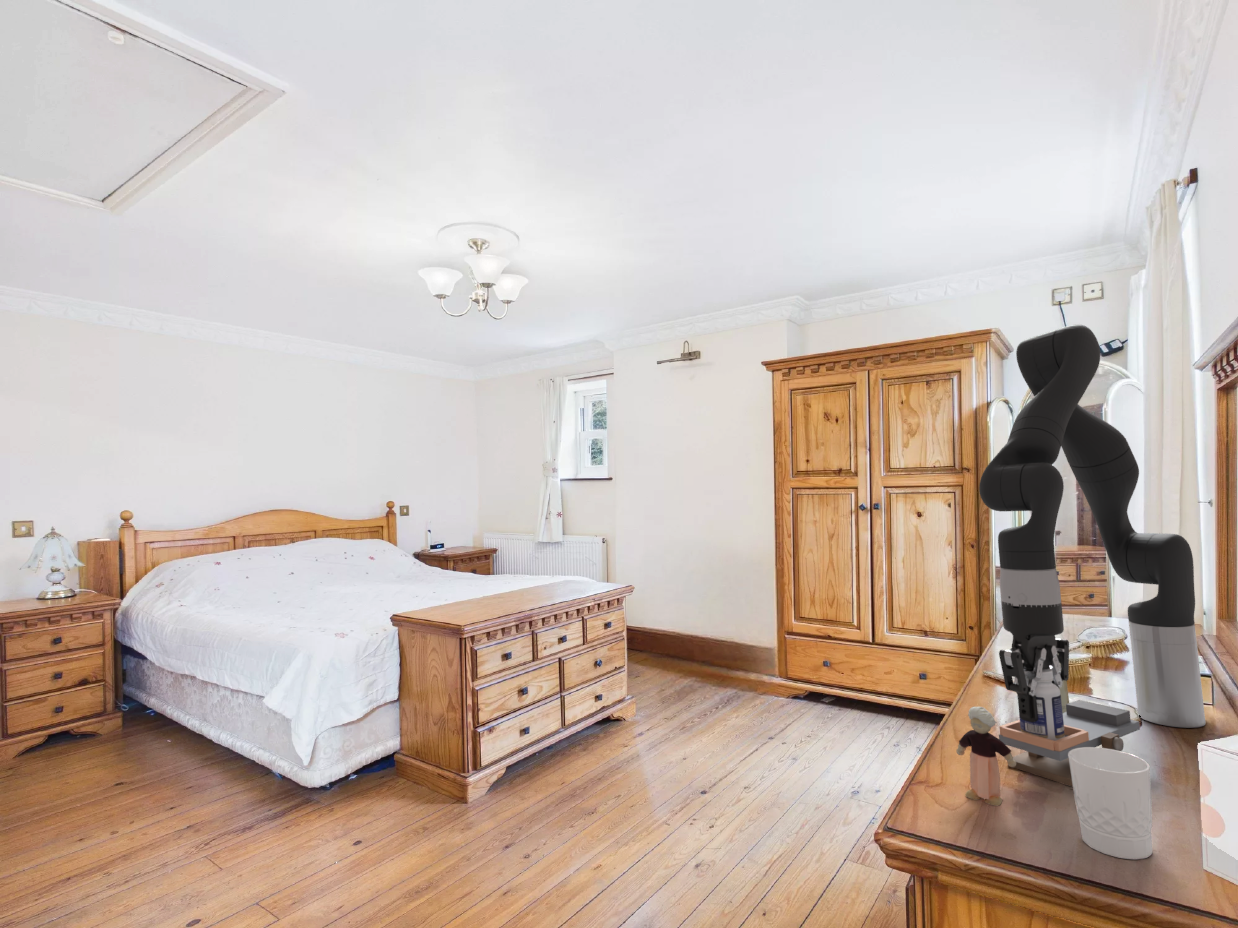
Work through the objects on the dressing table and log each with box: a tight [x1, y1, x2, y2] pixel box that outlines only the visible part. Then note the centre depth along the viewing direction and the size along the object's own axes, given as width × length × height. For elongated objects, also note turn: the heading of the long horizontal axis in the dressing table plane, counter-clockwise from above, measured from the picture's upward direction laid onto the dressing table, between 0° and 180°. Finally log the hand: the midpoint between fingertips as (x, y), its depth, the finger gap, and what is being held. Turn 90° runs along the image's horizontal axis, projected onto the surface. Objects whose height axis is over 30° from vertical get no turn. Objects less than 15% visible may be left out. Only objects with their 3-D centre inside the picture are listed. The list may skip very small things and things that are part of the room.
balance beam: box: [998, 699, 1141, 761], centre depth 97 cm, size 22×8×3 cm, turn 118°
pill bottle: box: [1017, 668, 1065, 741], centre depth 94 cm, size 5×5×10 cm
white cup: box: [1068, 746, 1153, 860], centre depth 78 cm, size 8×8×10 cm
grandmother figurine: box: [956, 706, 1016, 807], centre depth 90 cm, size 8×4×13 cm, turn 50°
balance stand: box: [1007, 732, 1125, 788], centre depth 97 cm, size 10×14×7 cm
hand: (1040, 715), depth 94 cm, fingers closed on pill bottle, 5 cm apart
